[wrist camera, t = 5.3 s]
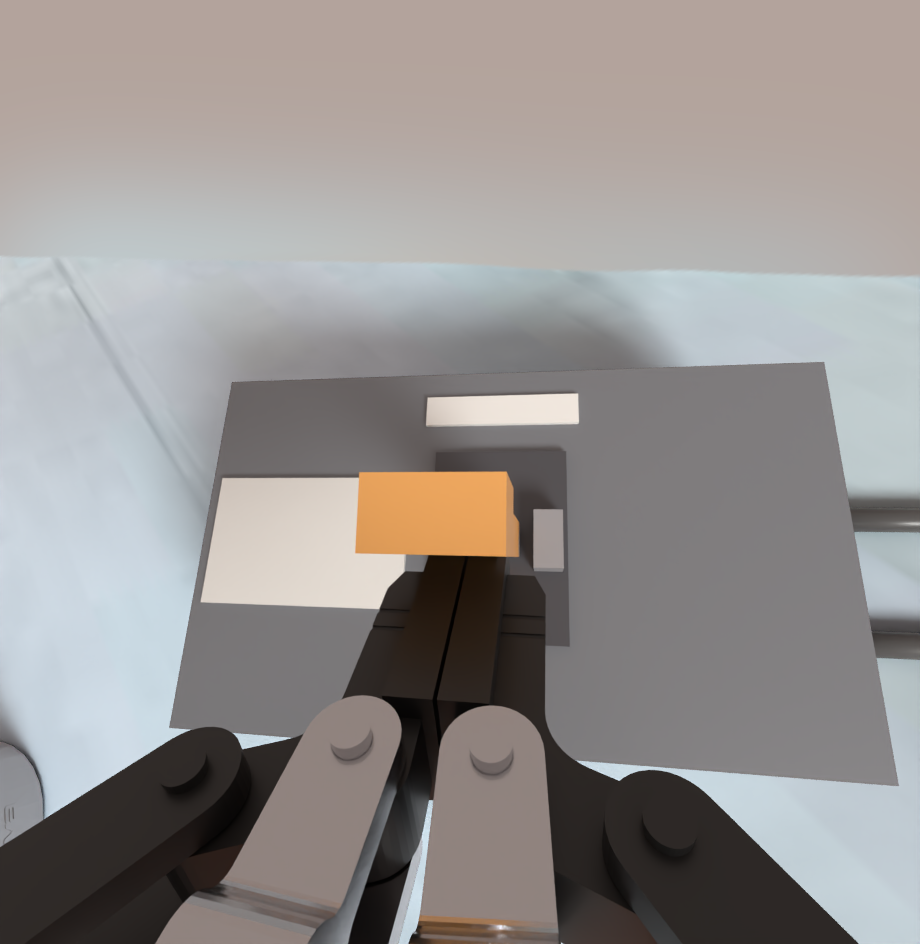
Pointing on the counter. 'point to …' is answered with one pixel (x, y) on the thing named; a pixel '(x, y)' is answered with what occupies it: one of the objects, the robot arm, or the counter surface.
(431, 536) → the breaker lever
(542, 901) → the robot arm
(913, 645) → the box
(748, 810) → the counter surface
